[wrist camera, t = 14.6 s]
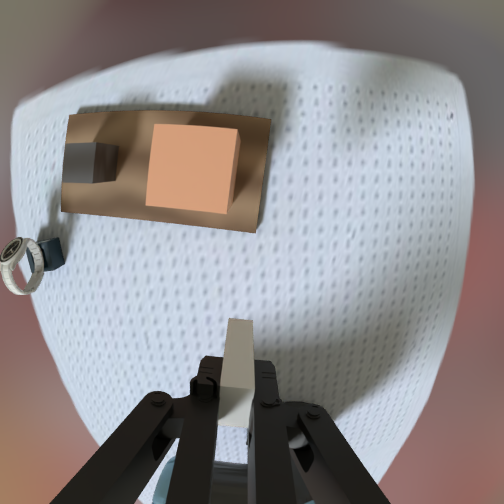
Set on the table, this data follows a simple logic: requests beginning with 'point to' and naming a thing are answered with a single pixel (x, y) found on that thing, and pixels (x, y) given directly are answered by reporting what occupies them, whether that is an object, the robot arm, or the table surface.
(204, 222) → the post board
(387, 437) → the table surface
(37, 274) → the watch
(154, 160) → the peach cube
